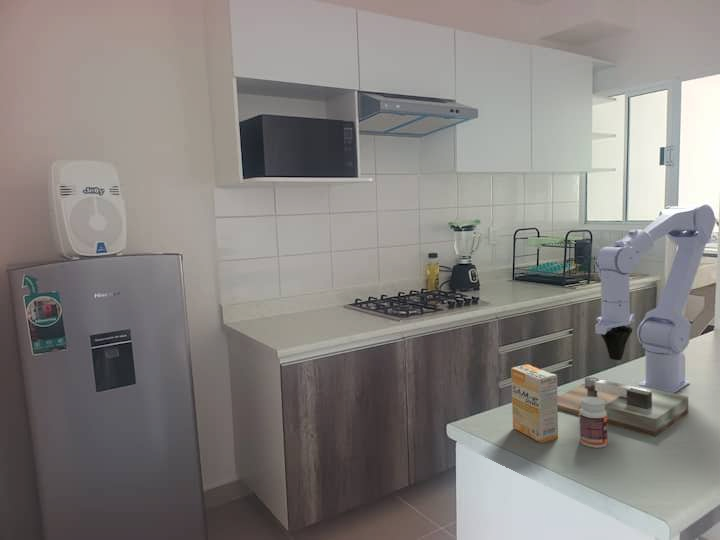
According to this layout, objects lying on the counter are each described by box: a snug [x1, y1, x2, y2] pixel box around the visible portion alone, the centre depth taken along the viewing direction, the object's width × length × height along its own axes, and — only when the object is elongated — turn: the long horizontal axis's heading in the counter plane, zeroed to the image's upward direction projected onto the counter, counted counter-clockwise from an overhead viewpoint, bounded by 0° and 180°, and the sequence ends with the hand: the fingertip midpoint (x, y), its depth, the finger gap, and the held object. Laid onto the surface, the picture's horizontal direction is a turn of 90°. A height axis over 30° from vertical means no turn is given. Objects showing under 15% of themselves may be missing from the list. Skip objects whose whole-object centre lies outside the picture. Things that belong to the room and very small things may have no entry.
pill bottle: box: [578, 397, 608, 449], centre depth 96 cm, size 5×5×8 cm
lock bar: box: [584, 376, 652, 398], centre depth 110 cm, size 14×3×2 cm, turn 39°
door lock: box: [557, 383, 689, 437], centre depth 111 cm, size 16×23×6 cm
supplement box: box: [510, 363, 559, 444], centre depth 102 cm, size 8×5×13 cm, turn 23°
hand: (615, 359), depth 116 cm, fingers closed
